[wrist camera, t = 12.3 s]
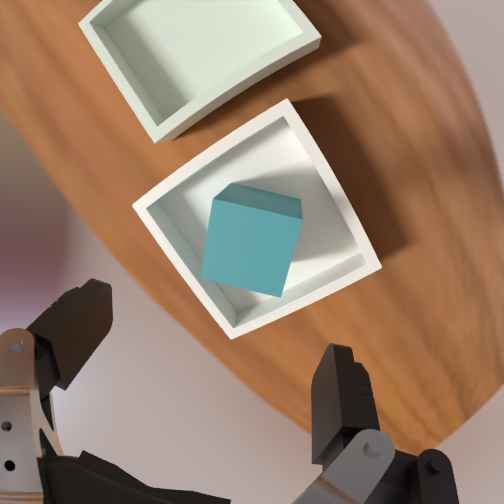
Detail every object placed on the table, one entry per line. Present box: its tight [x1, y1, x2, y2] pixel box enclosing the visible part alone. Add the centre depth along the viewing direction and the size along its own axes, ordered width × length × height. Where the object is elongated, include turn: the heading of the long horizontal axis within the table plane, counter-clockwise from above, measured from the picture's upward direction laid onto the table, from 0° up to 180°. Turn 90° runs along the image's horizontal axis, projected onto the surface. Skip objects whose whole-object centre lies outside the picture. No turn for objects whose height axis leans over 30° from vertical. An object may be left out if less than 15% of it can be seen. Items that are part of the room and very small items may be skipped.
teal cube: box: [200, 183, 303, 298], centre depth 20 cm, size 5×5×5 cm
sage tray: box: [79, 0, 322, 143], centre depth 17 cm, size 13×13×3 cm
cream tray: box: [132, 99, 382, 339], centre depth 22 cm, size 13×13×3 cm
